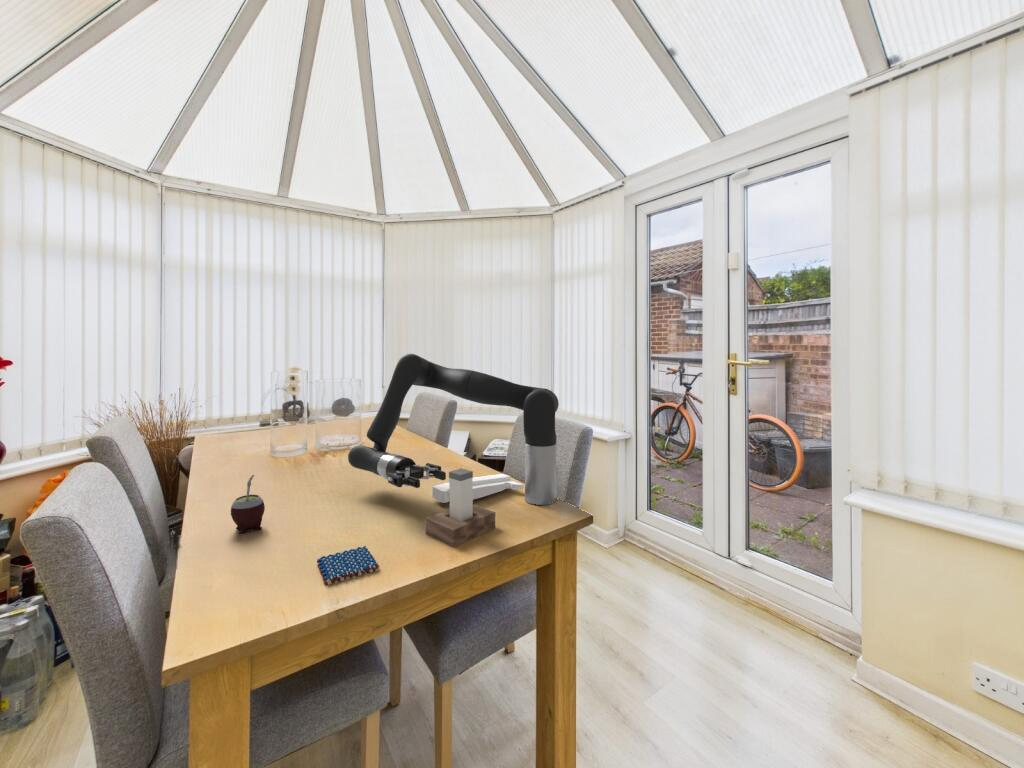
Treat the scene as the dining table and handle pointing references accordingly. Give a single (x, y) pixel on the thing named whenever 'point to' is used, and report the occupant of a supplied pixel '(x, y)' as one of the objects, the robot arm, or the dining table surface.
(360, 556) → the woven mat
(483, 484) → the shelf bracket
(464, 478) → the grey-capped white post
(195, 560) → the dining table surface
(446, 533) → the brown square socket block
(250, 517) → the mate gourd
